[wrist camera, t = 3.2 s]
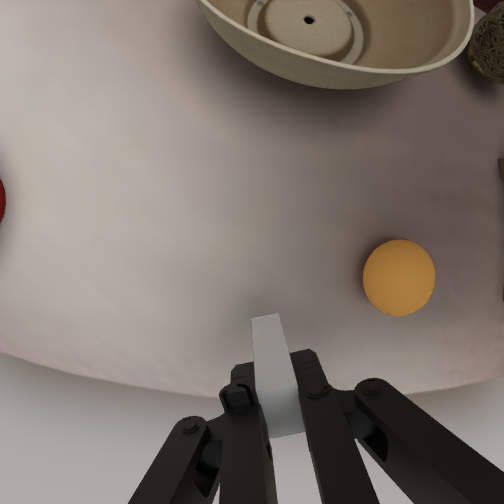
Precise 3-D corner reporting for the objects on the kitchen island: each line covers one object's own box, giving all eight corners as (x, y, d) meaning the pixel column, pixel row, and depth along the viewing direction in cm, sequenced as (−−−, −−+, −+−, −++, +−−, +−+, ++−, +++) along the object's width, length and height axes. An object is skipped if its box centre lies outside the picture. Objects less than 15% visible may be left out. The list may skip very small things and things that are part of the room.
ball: (410, 227, 23) (448, 239, 17) (415, 291, 24) (449, 315, 19) (348, 241, 23) (376, 258, 18) (357, 307, 24) (382, 338, 19)
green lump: (510, 81, 20) (561, 67, 12) (481, 110, 21) (540, 96, 13) (469, 21, 18) (515, -7, 11) (435, 42, 19) (485, 10, 12)
